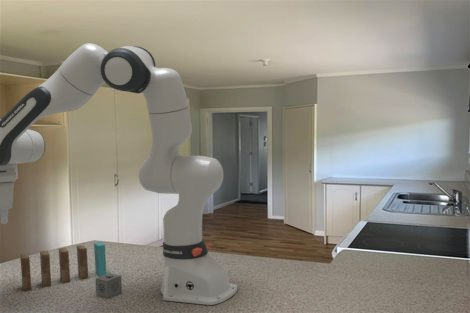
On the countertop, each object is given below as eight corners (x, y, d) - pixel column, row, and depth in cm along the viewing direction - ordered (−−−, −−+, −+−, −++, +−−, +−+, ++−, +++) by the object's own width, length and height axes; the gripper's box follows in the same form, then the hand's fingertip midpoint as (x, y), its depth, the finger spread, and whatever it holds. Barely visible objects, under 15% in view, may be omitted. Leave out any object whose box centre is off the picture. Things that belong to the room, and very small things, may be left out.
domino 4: (85, 274, 136) (83, 244, 136) (88, 278, 132) (86, 247, 131) (78, 275, 135) (76, 245, 135) (81, 279, 131) (79, 249, 130)
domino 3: (67, 277, 133) (65, 247, 133) (70, 282, 129) (68, 250, 129) (60, 279, 132) (58, 248, 132) (62, 283, 128) (60, 252, 127)
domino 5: (102, 271, 139) (100, 241, 138) (106, 274, 135) (104, 244, 134) (95, 272, 138) (93, 243, 137) (99, 276, 134) (98, 246, 133)
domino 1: (30, 285, 128) (28, 253, 127) (31, 289, 124) (29, 257, 123) (22, 286, 127) (20, 254, 126) (23, 291, 122) (21, 258, 122)
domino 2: (49, 281, 131) (47, 250, 130) (51, 285, 126) (49, 254, 126) (41, 282, 130) (39, 251, 129) (43, 287, 125) (41, 255, 125)
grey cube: (108, 298, 115) (107, 281, 115) (96, 295, 117) (95, 278, 117) (121, 292, 119) (121, 275, 119) (110, 289, 122) (109, 273, 121)
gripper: (-14, 173, 127) (-11, 217, 127) (-11, 177, 110) (-8, 228, 110) (9, 172, 130) (12, 215, 131) (16, 175, 113) (18, 225, 114)
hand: (3, 221), depth 120 cm, fingers open, 8 cm apart
